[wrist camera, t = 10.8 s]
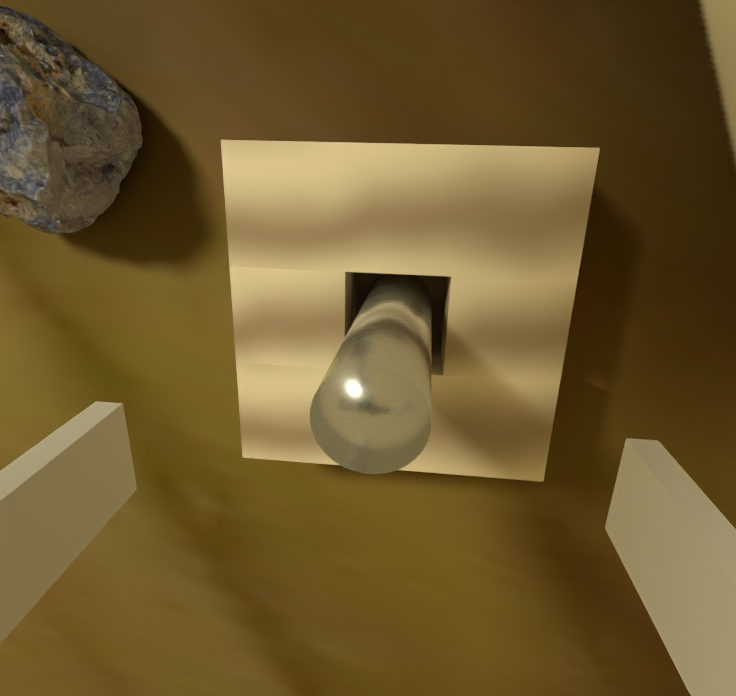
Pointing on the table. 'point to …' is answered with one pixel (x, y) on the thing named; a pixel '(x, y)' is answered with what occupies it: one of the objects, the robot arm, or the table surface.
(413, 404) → the pin
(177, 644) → the table surface
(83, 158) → the rock
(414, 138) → the table surface
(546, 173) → the bore block
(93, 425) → the robot arm
